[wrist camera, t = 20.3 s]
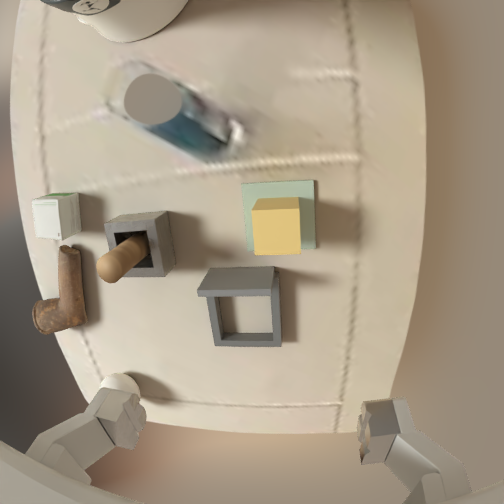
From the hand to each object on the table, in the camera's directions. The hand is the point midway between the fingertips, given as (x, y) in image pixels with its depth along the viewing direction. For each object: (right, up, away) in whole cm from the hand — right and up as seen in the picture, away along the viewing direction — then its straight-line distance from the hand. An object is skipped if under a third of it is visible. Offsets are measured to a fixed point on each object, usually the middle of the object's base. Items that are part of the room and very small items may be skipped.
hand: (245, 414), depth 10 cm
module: (+3, +10, +26) cm, 28 cm away
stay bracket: (-13, +7, +29) cm, 33 cm away
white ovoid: (-22, -18, +40) cm, 49 cm away
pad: (+3, +10, +26) cm, 28 cm away
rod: (-13, +7, +29) cm, 33 cm away
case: (-1, -2, +31) cm, 31 cm away
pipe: (-30, 0, +35) cm, 46 cm away
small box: (-27, +12, +30) cm, 41 cm away
